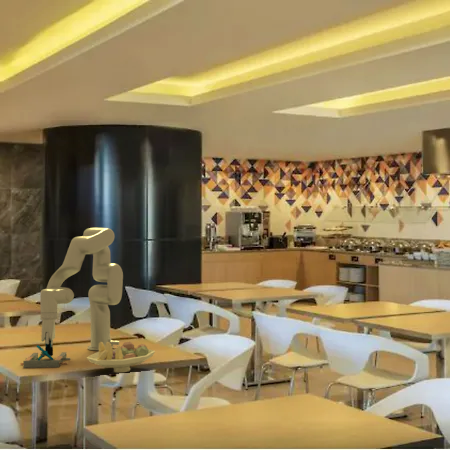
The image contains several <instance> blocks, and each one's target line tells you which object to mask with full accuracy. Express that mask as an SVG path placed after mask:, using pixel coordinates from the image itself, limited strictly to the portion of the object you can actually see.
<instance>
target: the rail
mask: <svg viewBox="0 0 450 450" xmlns="http://www.w3.org/2000/svg"><path fill="white" fill-rule="evenodd" d="M38 358H39V352H33V353H31V355H29V356H28V357H25V359H24V360H23V362H20V366H23V369H36V368H37V369H38V368H39V369H42V368H45V369H46V368H60V366H61V365H68V362H67V361H70V360H71V357H67V351H63V352H61V353H60V354H59V355H57V357H56V358H55V359H54V360H51V359H47V360H46V359H43V360H42V359H41V360H38ZM65 361H66V362H65Z"/></svg>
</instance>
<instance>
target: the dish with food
mask: <svg viewBox="0 0 450 450" xmlns="http://www.w3.org/2000/svg"><path fill="white" fill-rule="evenodd" d="M116 346H117V347H116V348H113V349H112V345H111V344H110V343H109V342H107V343H106V345H105V346H104V344H103V342H100V343H99V350H98V351H96V352H95V353H92V354H90V355H89V356H87V357H86V359H87V361H88V362H89V363H92V364H94V365H96V366H97V365H98V366H100V367H103V368H108V369H109V368H111V369H112V368H113V373H127V372H130V371H131V367H133V366H137V365H140V364H142V363H143V362H145V361H147V360H149V359H150V358H152V357H153V356H154V354H155V353H156V350H154V349H149V348H148V346H147V345H146V344H145V343H143V344H142V343H140V344H139V345H138V346H137V345H136V347H135V345H134V343H133V342H131V341H126V342H124V343H122V345H121V346H120V345H116Z"/></svg>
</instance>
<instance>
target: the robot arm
mask: <svg viewBox="0 0 450 450" xmlns="http://www.w3.org/2000/svg"><path fill="white" fill-rule="evenodd" d="M114 241H115V232H114V231H113V230H112V229H111V228H109V227H90V228H89V227H88V228H86V229H85V230H84V231H83V235H82V236H75V237H73V238H72V239H71V241H70V243H69V247H68V248H67V252H66V254H65V257H64V260H63V262H62V265H61V266H60V267H59V268H58V269H57V270H56V271H55V272H54V273H53V274H52V275H51V277H50V279H49V281H48V283H47V286H46V288H44V289H41V291H40V294H39V295H40V298H39V299H40V300H39V301H40V306H39V307H40V321H42V322H41V335H40V336H41V342H42V343H43V342H44V341H45V342H44V343H45V347H44V350H45V351H47V353H48V354H49V355H50V356H51V357H53V356H54V346H53V345H54V340H55V339H56V320H58V304H62V305H65V304H66V305H67V304H70V303H71V302H72V301H73V300H74V299H75V298H74V297H75V293H74V292H73V290H72V289H71V288H70V287H62V284H63V282H65V280H67V279H68V278H70V277H71V276H73V275H75V274H77V273H78V272H80V271H81V268H82V265H83V262H84V261H85V257H86V255H92V256H93V258H92V277H93V280H95V281H96V282H100V283H107V284H94V285H92V286H91V287H90V288H89V290H88V300H89V301H88V302H89V307H90V308H89V309H90V345H88V346H87V350H88V351H89V350H90V351H99V343H100V342H103V344H104V346H105V345H106V343H107V342H109V343H110V344H111V345H112V349H114V346H120V341H119V340H113V339H112V338H111V311H110V308H109V306H115V305H118V304H119V303H120V302H121V300H122V296H123V280H124V273H123V269H122V267H121V265H119V264H118V263H114V262H111V249H110V247H109V246H110V245H112V244H113V242H114ZM44 357H47V356H46V355H45V356H44Z"/></svg>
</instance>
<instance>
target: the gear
mask: <svg viewBox="0 0 450 450" xmlns="http://www.w3.org/2000/svg"><path fill="white" fill-rule="evenodd" d="M36 348H37V349H38V350H39V351H40V354H39V356H38V358H37V360H42V359H43V358H45V357H47V358H48V359H49V360H55V359H54V357H53V356H50V355H49V354H48V353H47V351H45V348H43V347H41V346H40V345H39V344H37V345H36ZM45 355H46V356H45Z"/></svg>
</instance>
